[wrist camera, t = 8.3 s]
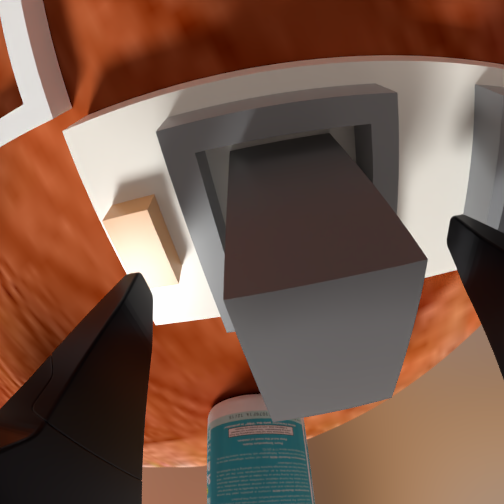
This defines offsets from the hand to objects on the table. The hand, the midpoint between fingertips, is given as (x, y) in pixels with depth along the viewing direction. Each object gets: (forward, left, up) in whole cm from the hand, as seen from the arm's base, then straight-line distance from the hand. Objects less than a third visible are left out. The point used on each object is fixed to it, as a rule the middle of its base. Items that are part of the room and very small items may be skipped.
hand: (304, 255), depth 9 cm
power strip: (+4, 0, -4) cm, 6 cm away
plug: (0, 0, -2) cm, 3 cm away
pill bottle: (-4, -19, -5) cm, 20 cm away
